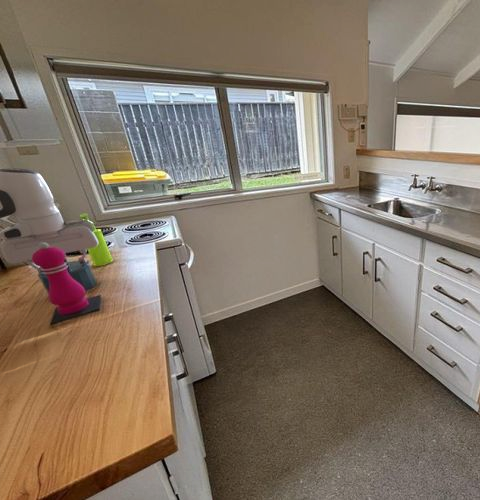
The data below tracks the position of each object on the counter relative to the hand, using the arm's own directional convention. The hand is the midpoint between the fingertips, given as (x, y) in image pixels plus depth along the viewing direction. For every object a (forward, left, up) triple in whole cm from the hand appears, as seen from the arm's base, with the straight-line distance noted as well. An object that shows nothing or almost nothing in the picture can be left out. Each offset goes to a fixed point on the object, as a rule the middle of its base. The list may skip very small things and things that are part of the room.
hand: (63, 267), depth 88 cm
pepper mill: (+2, -17, -8) cm, 18 cm away
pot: (0, 0, -8) cm, 8 cm away
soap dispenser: (+7, +22, -9) cm, 25 cm away
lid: (0, 0, -1) cm, 1 cm away
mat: (+2, -17, -8) cm, 19 cm away
